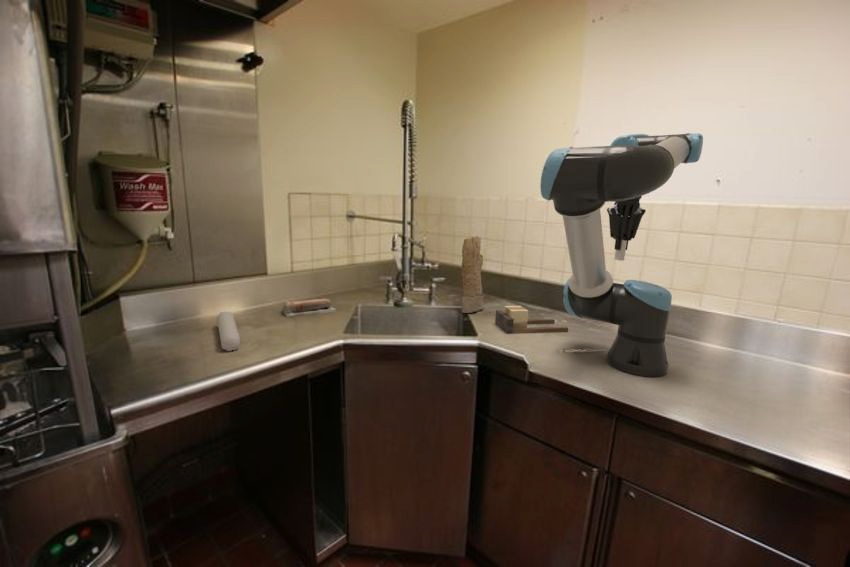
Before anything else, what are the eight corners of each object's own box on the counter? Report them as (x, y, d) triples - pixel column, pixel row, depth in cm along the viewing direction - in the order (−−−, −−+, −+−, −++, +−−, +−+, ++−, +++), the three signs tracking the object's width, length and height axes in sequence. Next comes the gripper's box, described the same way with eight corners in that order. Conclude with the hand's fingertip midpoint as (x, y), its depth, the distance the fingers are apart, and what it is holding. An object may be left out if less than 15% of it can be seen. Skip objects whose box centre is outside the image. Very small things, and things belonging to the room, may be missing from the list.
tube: (244, 337, 110) (236, 313, 131) (223, 334, 107) (218, 309, 129) (238, 355, 110) (231, 328, 132) (217, 352, 108) (214, 325, 129)
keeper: (526, 330, 134) (528, 310, 132) (509, 331, 133) (511, 311, 131) (518, 324, 140) (520, 305, 139) (502, 325, 139) (504, 305, 137)
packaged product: (286, 306, 140) (280, 299, 149) (287, 319, 141) (281, 312, 150) (336, 301, 149) (327, 295, 158) (336, 313, 150) (328, 306, 159)
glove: (485, 315, 154) (491, 238, 148) (458, 313, 155) (463, 237, 148) (482, 306, 168) (487, 235, 161) (457, 304, 168) (461, 234, 162)
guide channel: (568, 335, 134) (570, 318, 133) (507, 337, 130) (508, 320, 129) (550, 324, 146) (552, 308, 145) (494, 326, 141) (495, 309, 140)
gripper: (638, 187, 131) (627, 258, 136) (604, 185, 128) (594, 258, 133) (656, 187, 124) (644, 261, 129) (620, 185, 121) (609, 261, 126)
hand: (619, 259), depth 131 cm, fingers closed
